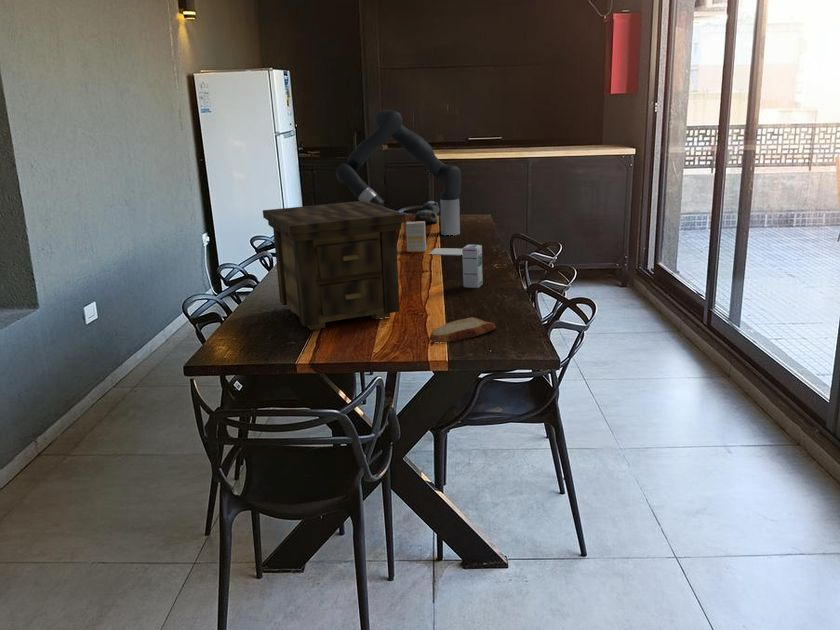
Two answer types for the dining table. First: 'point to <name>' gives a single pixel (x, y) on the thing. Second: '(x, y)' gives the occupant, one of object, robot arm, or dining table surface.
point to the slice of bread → (461, 330)
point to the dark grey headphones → (428, 212)
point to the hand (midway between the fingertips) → (398, 228)
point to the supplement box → (416, 236)
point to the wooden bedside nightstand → (337, 260)
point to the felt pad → (446, 251)
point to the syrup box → (472, 266)
